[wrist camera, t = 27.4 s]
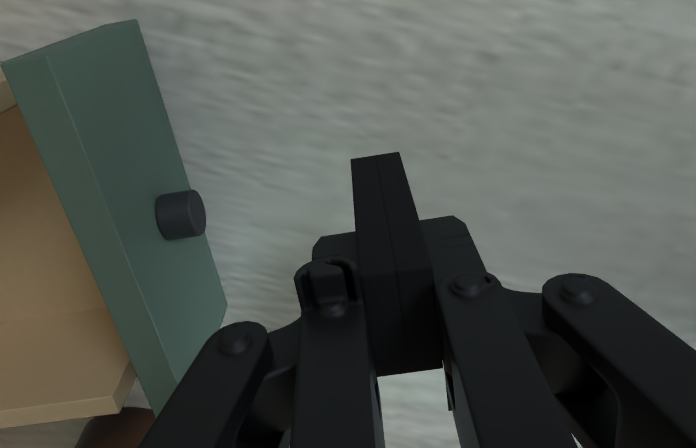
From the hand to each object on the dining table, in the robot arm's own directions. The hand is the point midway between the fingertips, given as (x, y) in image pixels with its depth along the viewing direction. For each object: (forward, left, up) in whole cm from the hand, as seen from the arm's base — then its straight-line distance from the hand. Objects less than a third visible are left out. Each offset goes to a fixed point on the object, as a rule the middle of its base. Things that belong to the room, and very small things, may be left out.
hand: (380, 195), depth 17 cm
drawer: (+13, 0, -5) cm, 14 cm away
